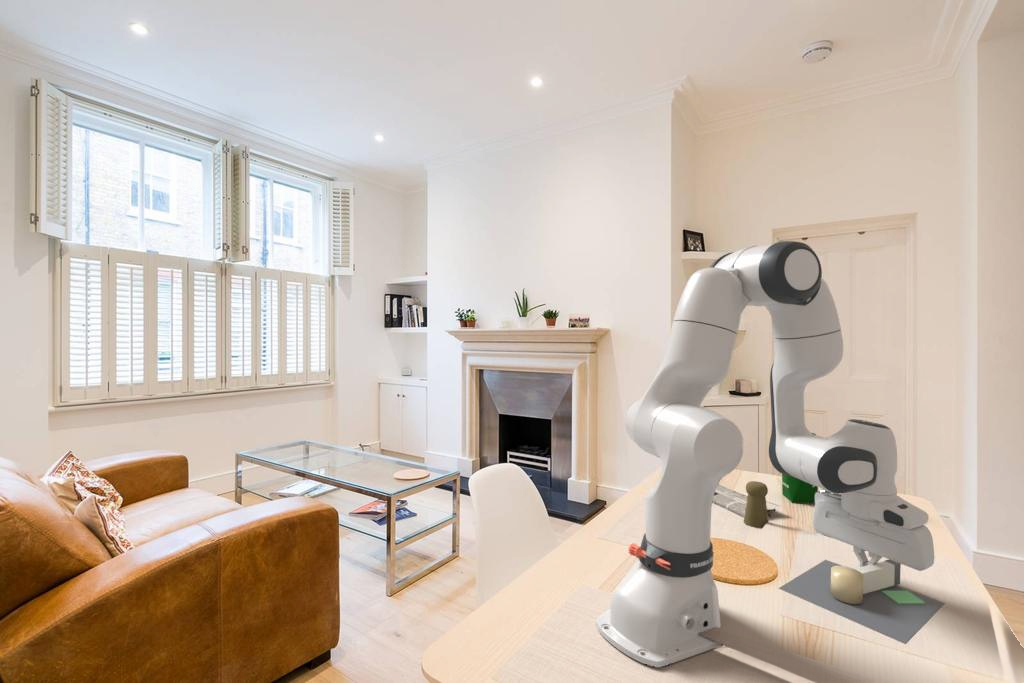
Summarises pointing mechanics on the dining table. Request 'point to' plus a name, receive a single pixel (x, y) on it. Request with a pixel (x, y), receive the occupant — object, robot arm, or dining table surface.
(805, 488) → the milk carton
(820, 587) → the dial board
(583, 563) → the dining table surface
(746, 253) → the robot arm
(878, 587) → the dial lever
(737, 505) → the newspaper
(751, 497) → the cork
